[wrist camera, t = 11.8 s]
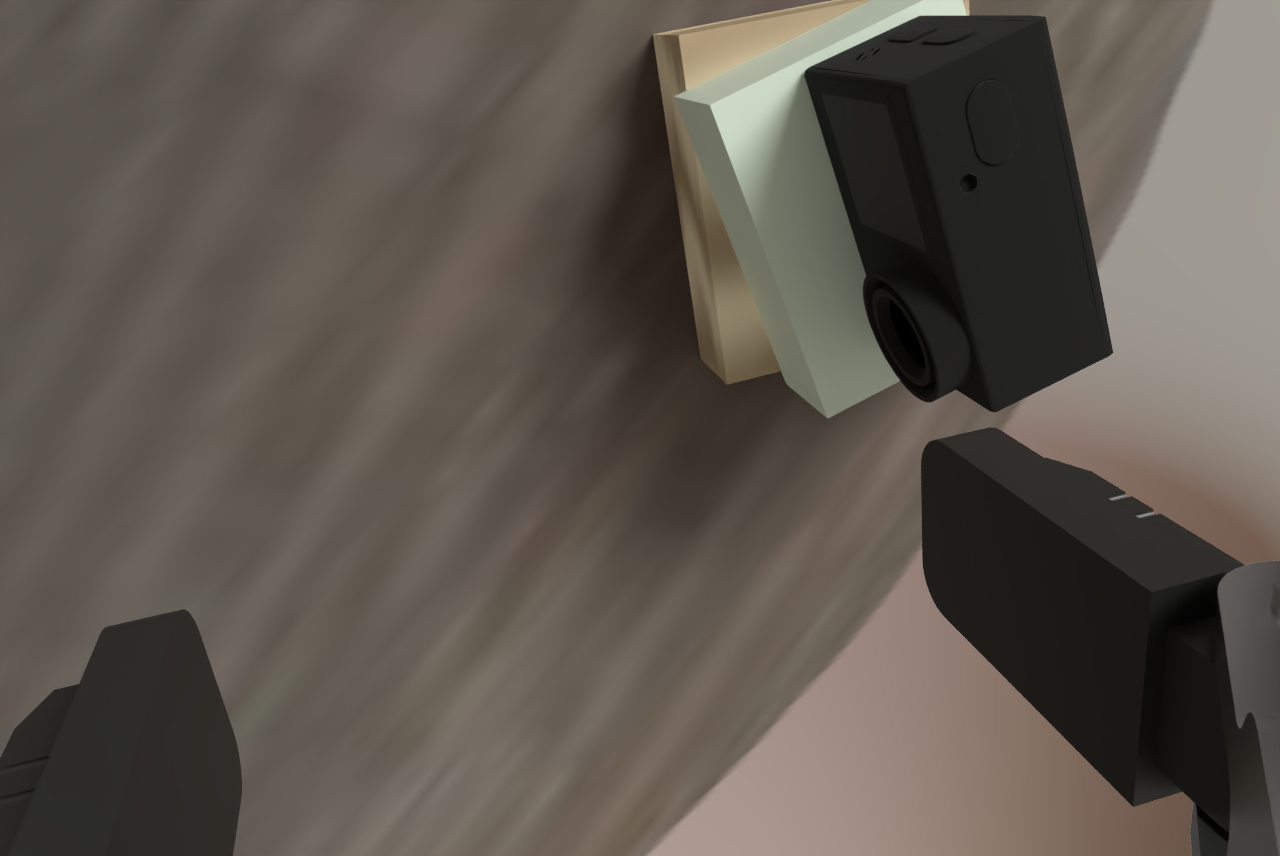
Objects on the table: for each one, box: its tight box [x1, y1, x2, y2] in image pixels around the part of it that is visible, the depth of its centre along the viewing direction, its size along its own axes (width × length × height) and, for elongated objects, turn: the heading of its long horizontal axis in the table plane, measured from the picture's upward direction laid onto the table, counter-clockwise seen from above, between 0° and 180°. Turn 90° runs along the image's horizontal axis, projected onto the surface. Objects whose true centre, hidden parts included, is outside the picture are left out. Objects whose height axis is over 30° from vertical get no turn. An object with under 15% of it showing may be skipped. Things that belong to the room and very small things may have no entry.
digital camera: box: [804, 16, 1113, 412], centre depth 32 cm, size 10×5×7 cm, turn 23°
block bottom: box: [653, 0, 969, 385], centre depth 41 cm, size 13×11×4 cm
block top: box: [674, 0, 967, 419], centre depth 37 cm, size 12×9×4 cm
